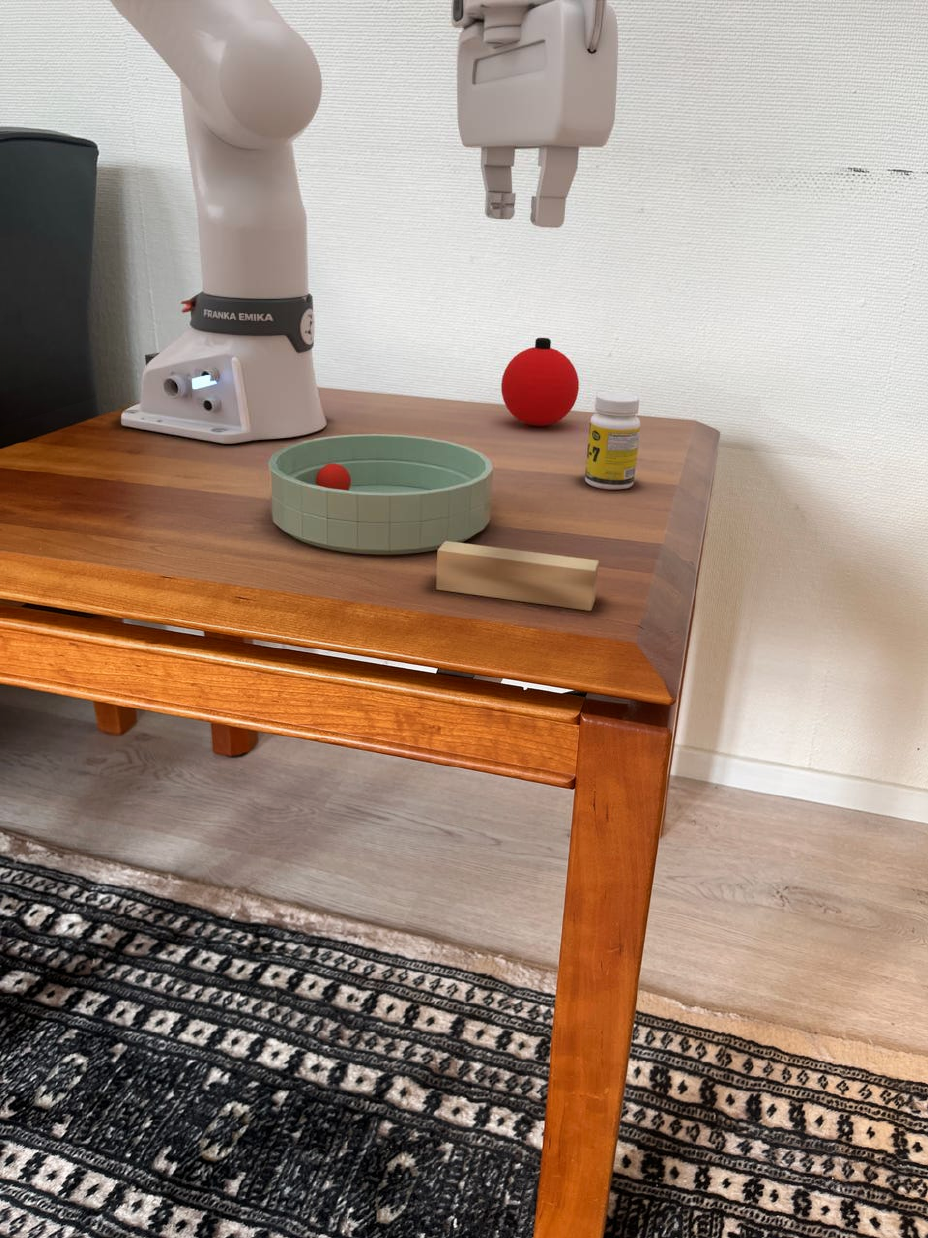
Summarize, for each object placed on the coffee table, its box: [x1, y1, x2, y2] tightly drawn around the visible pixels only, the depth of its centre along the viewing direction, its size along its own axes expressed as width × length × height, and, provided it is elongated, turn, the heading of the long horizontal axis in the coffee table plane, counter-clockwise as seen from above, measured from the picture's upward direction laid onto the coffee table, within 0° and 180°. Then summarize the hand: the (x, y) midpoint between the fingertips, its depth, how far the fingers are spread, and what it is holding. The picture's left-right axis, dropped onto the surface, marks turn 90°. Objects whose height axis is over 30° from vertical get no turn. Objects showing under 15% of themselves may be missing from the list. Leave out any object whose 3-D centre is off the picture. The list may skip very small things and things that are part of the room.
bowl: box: [267, 433, 494, 556], centre depth 82 cm, size 18×18×5 cm
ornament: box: [500, 337, 580, 427], centre depth 114 cm, size 9×9×10 cm
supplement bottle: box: [584, 391, 641, 491], centre depth 94 cm, size 5×5×8 cm
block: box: [435, 541, 600, 612], centre depth 69 cm, size 11×2×3 cm, turn 75°
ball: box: [316, 464, 351, 491], centre depth 85 cm, size 3×3×3 cm
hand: (521, 222), depth 67 cm, fingers open, 8 cm apart
